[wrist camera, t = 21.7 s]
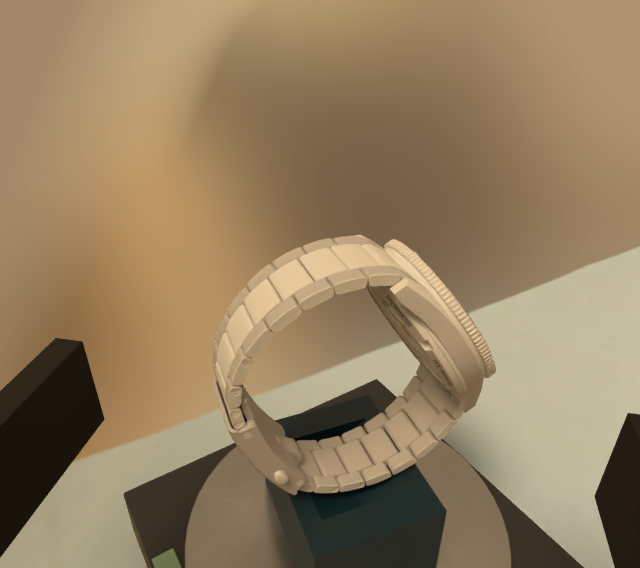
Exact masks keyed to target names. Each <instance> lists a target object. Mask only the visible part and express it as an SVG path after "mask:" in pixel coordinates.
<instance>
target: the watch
mask: <svg viewBox="0 0 640 568" xmlns="http://www.w3.org/2000/svg"><path fill="white" fill-rule="evenodd" d="M273 265H274V267H275V268H276V270H275V269H274V267H273V266H272V264H269V265H267V266H266V267H265V268H263V269H262V270H261V271H260V272H258V273H257V275H255V276H254V277H253V278H252V279H251V280H250V281H249V282H248V283H247V287H248V288H247V287H245V288H243V289H242V290H241V291H240V293H239V294H238V295H237V296H236V298H235V299H234V300H233V302H232V303H231V305H230V306H229V308H228V310H227V313H228V314H226V315H224V317H223V319H222V321H221V323H220V326H219V328H218V331H217V335H216V339H215V340H216V343H215V344H214V348H213V363H214V372H215V375H216V378H215V379H214V380H213V381H212V382H213V386H214V390H215V393H216V397H217V400H218V403H219V406H220V409H221V412H222V415H223V418H224V420H225V423H226V426H227V429H228V431H229V433H230V435H231V437H232V438H233V440H234V442H235V443H236V445H237V447H238V448H239V450H240V451H241V452H242V454H243V455H244V456H245V458H246V459H247V460H248V461H249V462H250V464H251V465H252V466H253V467H254V468H255V469H256V470H257V471H258V472H259V473H261V474H262V475H263V476H264V477H265V482H266V485H267V487H268V490H269V493H270V496H271V498H272V501H273V504H274V507H275V509H276V512H277V515H278V518H279V521H280V523H281V526H282V529H283V532H284V534H285V537H286V540H287V543H288V545H289V548H290V551H291V554H292V557H293V559H294V562H295V565H296V568H436V566H437V560H438V555H439V550H440V545H441V539H442V534H443V529H444V523H445V518H446V513H447V510H446V509H445V507H444V506H443V504H442V503H441V501H440V500H439V498H438V497H437V495H436V494H435V492H434V491H433V490H432V488H431V487H430V485H429V484H428V482H427V481H426V479H425V478H424V476H423V475H422V473H421V472H420V470H419V469H418V467H417V466H416V464H415V463H416V461H417V460H416V459H415V457H416V458H417V459H420V458H422V457H423V456H425V455H426V454H427V453H428V452H430V451H431V450H432V449H433V448H434V447H435V446H436V445H437V444H438V443H439V442H438V440H442V439H443V438H444V437H445V436H446V435H447V434H448V432H449V431H450V430H451V429H452V428H453V427H454V425H455V424H456V423H457V420H456V419H459V418H460V416H461V415H462V413H463V412H465V413H466V412H467V411H469V410H470V409H471V408H473V407H474V406H475V404H476V402H477V400H478V397H479V395H480V392H481V389H482V384H483V377H484V378H489V377H490V376H492V375H493V374H494V373H495V372H496V366H495V363H494V360H493V357H492V354H491V352H490V350H489V348H488V346H487V344H486V342H485V340H484V339H483V337H482V335H481V334H480V332H479V330H478V329H477V327H476V326H475V324H474V323H473V321H472V320H471V318H470V317H469V315H468V314H467V313H466V311H465V310H464V308H463V307H462V306H461V304H460V303H459V302H458V300H457V299H456V298H455V297H454V295H453V294H452V293H451V291H450V290H449V289H448V288H447V286H446V285H445V284H444V283H443V282H442V281H441V279H440V278H439V277H438V276H437V275H436V274H435V273H434V271H433V270H432V269H431V268H430V267H429V266H428V265H427V264H426V263H425V262H424V261H423V260H422V259H421V258H420V257H419V256H418V254H417V253H416V252H413V251H412V250H411V249H410V248H408V247H407V246H406V245H404V244H402V243H401V242H399V241H397V240H391V241H389V242H388V243H387V244H385V249H383V248H382V247H380V246H379V245H377V244H376V243H374V242H373V241H371V240H370V239H368V238H366V237H363V236H361V235H356V236H344V237H337V238H334V240H332V239H330V238H329V239H324V240H320V241H316V242H312V243H309V244H307V245H304V246H303V250H302V248H300V247H299V248H296V249H294V250H292V251H290V252H288V253H286V254H284V255H282V256H281V257H279V258H278V259H276V260H275V261H274V262H273ZM303 267H304V268H303ZM305 270H306V271H307V272H306V271H305ZM308 274H309V275H310V276H309V275H308ZM311 278H312V279H313V280H312V279H311ZM272 285H274V287H275V289H276V290H277V292H278V294H279V295H280V297H281V298H282V300H283V302H282V300H281V299H280V297H279V296H278V294H277V292H276V290H275V289H274V288H273V286H272ZM364 287H366V288H367V290H368V291H369V293H370V295H371V296H372V298H373V299H374V301H375V303H376V304H377V306H378V307H379V309H380V310H381V312H382V313H383V315H384V316H385V317H386V319H387V320H388V322H389V323H390V324H391V326H392V327H393V329H394V330H395V331H396V333H397V334H398V335H399V337H400V338H401V339H402V341H403V342H404V343H405V345H406V346H407V347H408V349H409V350H410V351H411V352H412V354H413V355H414V356H415V357H416V359H417V360H418V361H419V362H420V363H421V364H420V366H419V368H418V370H417V372H416V374H417V375H418V376H414V377H413V378H412V380H411V381H410V383H409V384H408V386H407V387H406V388H405V390H404V391H403V395H404V396H405V397H404V396H399V397H397V398H396V400H395V401H394V402H393V403H392V404H391V405H389V406H388V407H387V408H386V410H385V413H386V415H387V416H388V418H389V419H390V420H389V419H388V418H387V416H386V415H385V414H384V413H380V411H379V410H378V408H377V407H376V405H375V404H374V402H373V401H372V399H371V398H370V396H369V395H366V396H362V397H359V398H355V399H352V400H348V401H344V402H341V403H337V404H333V405H330V406H326V407H322V408H319V409H315V410H312V411H308V412H304V413H301V414H297V415H293V416H290V417H286V418H282V419H279V420H275V421H274V420H273V419H272V418H271V417H269V416H268V415H267V414H266V413H265V412H264V411H263V410H262V409H261V408H260V407H259V406H258V405H257V404H256V403H255V402H254V401H253V399H252V398H251V397H250V395H249V394H248V393H247V391H246V389H245V388H244V386H243V383H244V381H245V379H246V376H247V374H248V372H249V370H250V367H251V365H252V364H253V360H252V358H251V357H256V356H257V355H258V354H259V353H260V352H261V351H262V349H263V348H264V347H265V346H266V344H267V343H268V342H269V341H270V340H271V339H272V338H273V332H272V331H274V332H279V331H281V330H282V329H283V328H284V327H285V326H287V325H288V324H289V323H290V322H292V321H293V320H294V319H296V318H297V317H298V316H300V314H301V309H300V307H299V306H298V304H297V303H299V305H300V306H301V307H302V309H304V310H308V309H310V308H312V307H314V306H316V305H317V304H319V303H321V302H324V301H325V300H328V299H330V298H331V297H332V296H333V293H334V292H335V293H336V294H343V293H346V292H350V291H354V290H358V289H363V288H364ZM333 290H334V292H333ZM407 400H408V401H407ZM405 412H406V413H405ZM406 414H407V415H408V416H409V418H410V419H411V420H412V422H413V423H414V424H413V423H412V422H411V420H410V419H409V418H408V416H407V415H406ZM414 425H415V426H416V427H417V429H418V430H419V431H420V433H421V434H422V435H421V434H420V433H419V431H418V430H417V429H416V427H415V426H414ZM432 433H433V434H434V435H433V434H432ZM435 437H436V438H437V439H438V440H437V439H436V438H435ZM411 451H412V452H413V454H414V455H415V457H414V456H413V454H412V453H411Z"/></svg>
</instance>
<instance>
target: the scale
mask: <svg viewBox="0 0 640 568" xmlns="http://www.w3.org/2000/svg"><path fill="white" fill-rule="evenodd" d="M366 395H369V396H370V398H371V399H372V401H373V402H374V404H375V405H376V407H377V408H378V410H379V411H380V413H384V414H385V415H386V413H385V410H386V408H387V407H388V406H389V405H391V404H392V403H393V402H394V401H395V400H396V398H397V397H396V396H395V395H394V394H393V393H391V392H390V391H389V390H388V389H387V388H386V387H385V386H384V385H383V384H382V383H380V382H379V381H378V380H377V379H376V380H374V381H371V382H369V383H367V384H365V385H363V386H360V387H358V388H356V389H354V390H351V391H349V392H347V393H345V394H343V395H340V396H338V397H336V398H334V399H331V400H329V401H327V402H325V403H323V404H320V405H318V406H316V407H314V408H311V409H309V410H307V411H305V412H308V411H312V410H315V409H319V408H322V407H326V406H330V405H333V404H337V403H341V402H344V401H348V400H352V399H355V398H359V397H362V396H366ZM303 413H304V412H303ZM405 413H406V412H405ZM300 414H301V413H300ZM406 415H407V414H406ZM407 416H408V415H407ZM408 418H409V416H408ZM409 419H410V418H409ZM410 420H411V419H410ZM411 422H412V420H411ZM412 423H413V422H412ZM413 424H414V423H413ZM432 434H433V433H432ZM433 435H434V434H433ZM441 441H443V442H444V443H446V442H445V441H444V440H443V439H442V440H441ZM446 444H447V443H446ZM447 445H449V444H447ZM236 446H237V445H236V443H234V444H232V445H229V446H227V447H225V448H223V449H220V450H218V451H216V452H214V453H212V454H209V455H207V456H205V457H203V458H200V459H198V460H196V461H194V462H192V463H189V464H187V465H185V466H183V467H180V468H178V469H176V470H174V471H172V472H169V473H167V474H165V475H163V476H160V477H158V478H156V479H154V480H152V481H149V482H147V483H145V484H143V485H140V486H138V487H136V488H134V489H132V490H129V491H127V492H125V493H124V498H125V501H126V505H127V508H128V512H129V515H130V519H131V522H132V526H133V529H134V532H135V535H136V537H137V540H138V543H139V545H140V548H141V551H142V553H143V556H144V559H145V562H146V564H147V567H148V568H185V553H184V548H185V539H186V531H187V526H188V522H189V519H190V515H191V511H192V509H193V506H194V504H195V501H196V499H197V496H198V494H199V492H200V490H201V489H202V487H203V485H204V483H205V482H206V480H207V478H208V477H209V475H210V474H211V473H212V471H213V470H214V469H215V467H216V466H217V465H218V464H219V462H220V461H221V460H222V459H223V458H224V457H225V456H226V455H227V454H228V453H229V452H230V451H231V450H232V449H234V448H235V447H236ZM449 446H450V445H449ZM450 447H451V446H450ZM451 448H452V447H451ZM452 449H453V448H452ZM453 450H454V449H453ZM459 455H460V454H459ZM470 466H471V467H472V468H473V469H474V470H475V471H476V472H477V474H478V475H479V476H480V478H481V479H482V480H483V481H484V483H485V484H486V486H487V488H488V489H489V491H490V492H491V494H492V496H493V497H494V499H495V501H496V504H497V506H498V508H499V510H500V512H501V514H502V517H503V520H504V523H505V527H506V530H507V533H508V537H509V543H510V549H511V555H512V568H584V567H583V566H581V565H580V564H579V563H578V562H577V561H576V560H575V559H574V558H573V557H572V556H570V555H569V554H568V553H567V552H566V551H565V550H564V549H563V548H562V547H561V546H560V545H558V544H557V543H556V542H555V541H554V540H553V539H552V538H551V537H550V536H549V535H547V534H546V533H545V532H544V531H543V530H542V529H541V528H540V527H539V526H538V525H536V524H535V523H534V522H533V521H532V520H531V519H530V518H529V517H528V516H527V515H525V514H524V513H523V512H522V511H521V510H520V509H519V508H518V507H517V506H516V505H514V504H513V503H512V502H511V501H510V500H509V499H508V498H507V497H506V496H505V495H503V494H502V493H501V492H500V491H499V490H498V489H497V488H496V487H495V486H494V485H492V484H491V483H490V482H489V481H488V480H487V479H486V478H485V477H484V476H483V475H482V474H480V473H479V472H478V471H477V470H476V469H475V468H474V467H473V466H472V465H471V464H470Z"/></svg>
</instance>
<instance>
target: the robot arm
mask: <svg viewBox="0 0 640 568" xmlns="http://www.w3.org/2000/svg"><path fill="white" fill-rule="evenodd" d="M103 420H104V416H103V412H102V409H101V405H100V402H99V398H98V395H97V391H96V388H95V384H94V381H93V377H92V374H91V370H90V367H89V363H88V359H87V356H86V352H85V349H84V346H83V342H82V341H74V340H67V339H59V338H56V339H55V340H54V341H52V343H50V344H49V345H48V346H47V347H46V348H45V349H44V350H43V351H42V352H41V353H40V354H39V355H38V356H37V357H36V358H35V359H34V360H33V361H31V362H30V363H29V364H28V365H27V366H26V367H25V368H24V369H23V370H22V371H21V372H20V373H19V374H18V375H17V376H16V377H15V378H14V379H13V380H12V381H10V383H9V384H7V385H6V386H5V387H4V388H3V389H2V390H1V391H0V557H1V556H2V555H3V553H4V552H5V551H6V549H7V548H8V547H9V545H10V544H11V543H12V541H13V540H14V539H15V537H16V536H17V535H18V533H19V532H20V531H21V529H22V528H23V527H24V525H25V524H26V523H27V521H28V520H29V519H30V517H31V516H32V515H33V513H34V512H35V511H36V509H37V508H38V507H39V505H40V504H41V503H42V501H43V500H44V499H45V497H46V496H47V495H48V493H49V492H50V491H51V489H52V488H53V487H54V485H55V484H56V483H57V481H58V480H59V479H60V477H61V476H62V475H63V474H64V472H65V471H66V470H67V468H68V467H69V466H70V464H71V463H72V462H73V460H74V459H75V458H76V456H77V455H78V454H79V452H80V451H81V449H82V448H83V447H84V446H85V444H86V443H87V442H88V440H89V439H90V438H91V436H92V435H93V434H94V432H95V431H96V430H97V428H98V427H99V426H100V424H101V423H102V422H103ZM595 499H596V503H597V506H598V510H599V513H600V517H601V520H602V524H603V527H604V531H605V534H606V538H607V542H608V545H609V549H610V552H611V556H612V559H613V563H614V566H615V568H640V415H639V414H631V413H628V414H627V417H626V419H625V422H624V424H623V427H622V429H621V432H620V434H619V437H618V439H617V441H616V444H615V446H614V449H613V451H612V454H611V456H610V459H609V461H608V464H607V466H606V469H605V471H604V474H603V476H602V479H601V481H600V484H599V486H598V489H597V491H596V494H595Z"/></svg>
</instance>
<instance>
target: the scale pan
mask: <svg viewBox="0 0 640 568" xmlns="http://www.w3.org/2000/svg"><path fill="white" fill-rule="evenodd" d="M386 416H387V415H386ZM387 418H388V416H387ZM388 419H389V418H388ZM389 420H390V419H389ZM414 426H415V425H414ZM415 427H416V426H415ZM416 429H417V427H416ZM417 430H418V429H417ZM418 431H419V430H418ZM419 433H420V431H419ZM420 434H421V433H420ZM421 435H422V434H421ZM435 438H436V437H435ZM436 439H437V438H436ZM437 440H438V439H437ZM438 442H439V443H438V444H437V445H436V446H435V447H434V448H433V449H432V450H431V451H430V452H428V453H427V454H426V455H425V456H423V457H422V458H420V459H417V458H416V457H415V455H414V454H413V452H412V451H411V453H412V454H413V456H414V457H415V459H416V460H417V461H416V463H415V464H416V466H417V467H418V469H419V470H420V472H421V473H422V475H423V476H424V478H425V479H426V481H427V482H428V484H429V485H430V487H431V488H432V490H433V491H434V492H435V494H436V495H437V497H438V498H439V500H440V501H441V503H442V504H443V506H444V507H445V509H446V510H447V513H446V518H445V523H444V529H443V534H442V539H441V545H440V550H439V555H438V560H437V566H436V568H512V555H511V549H510V543H509V537H508V533H507V530H506V527H505V523H504V520H503V517H502V514H501V512H500V510H499V508H498V506H497V504H496V501H495V499H494V497H493V496H492V494H491V492H490V491H489V489H488V488H487V486H486V484H485V483H484V481H483V480H482V479H481V478H480V476H479V475H478V474H477V472H476V471H475V470H474V469H473V468H472V467H471V466H470V464H469V463H468V462H467V461H466V460H465V459H464V458H463V457H462V456H461V455H459V454H458V453H457V452H456V451H455V450H453V449H452V448H451V447H450V446H449V445H447V444H446V443H444V442H443V441H441V440H438ZM184 553H185V568H296V565H295V562H294V559H293V557H292V554H291V551H290V548H289V545H288V543H287V540H286V537H285V534H284V532H283V529H282V526H281V523H280V521H279V518H278V515H277V512H276V509H275V507H274V504H273V501H272V498H271V496H270V493H269V490H268V487H267V485H266V482H265V477H264V476H263V475H262V474H261V473H259V472H258V471H257V470H256V469H255V468H254V467H253V466H252V465H251V464H250V462H249V461H248V460H247V459H246V458H245V456H244V455H243V454H242V452H241V451H240V450H239V448H238V447H237V446H236V447H235V448H234V449H232V450H231V451H230V452H229V453H228V454H227V455H226V456H225V457H224V458H223V459H222V460H221V461H220V462H219V464H218V465H217V466H216V467H215V469H214V470H213V471H212V473H211V474H210V475H209V477H208V478H207V480H206V482H205V483H204V485H203V487H202V489H201V490H200V492H199V494H198V496H197V499H196V501H195V504H194V506H193V509H192V511H191V515H190V519H189V522H188V526H187V531H186V539H185V548H184Z"/></svg>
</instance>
